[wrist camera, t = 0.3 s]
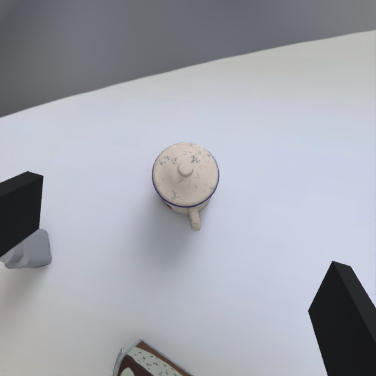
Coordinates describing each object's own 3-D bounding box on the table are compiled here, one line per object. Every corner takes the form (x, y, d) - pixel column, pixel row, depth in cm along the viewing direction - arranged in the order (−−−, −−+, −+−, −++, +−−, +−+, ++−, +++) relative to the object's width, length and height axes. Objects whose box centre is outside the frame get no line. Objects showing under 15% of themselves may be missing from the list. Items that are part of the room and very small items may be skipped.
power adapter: (46, 228, 49) (2, 219, 37) (52, 263, 48) (8, 264, 36) (26, 233, 49) (-24, 225, 37) (31, 268, 47) (-19, 271, 36)
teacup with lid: (152, 167, 51) (143, 141, 40) (206, 156, 52) (212, 127, 40) (167, 239, 49) (161, 233, 37) (223, 227, 49) (235, 217, 38)
